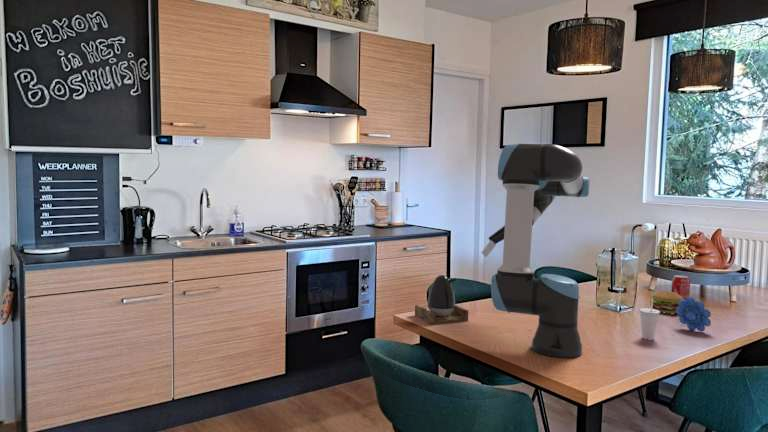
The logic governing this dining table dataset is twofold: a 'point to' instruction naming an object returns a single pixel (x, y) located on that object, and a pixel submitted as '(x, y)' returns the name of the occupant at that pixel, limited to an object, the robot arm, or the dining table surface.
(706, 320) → the blue gear
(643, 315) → the smoothie
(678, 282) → the soda can
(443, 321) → the track
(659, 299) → the food
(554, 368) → the dining table surface
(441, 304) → the pump dispenser
